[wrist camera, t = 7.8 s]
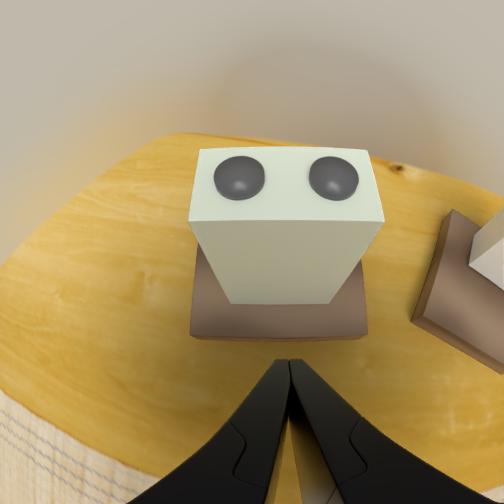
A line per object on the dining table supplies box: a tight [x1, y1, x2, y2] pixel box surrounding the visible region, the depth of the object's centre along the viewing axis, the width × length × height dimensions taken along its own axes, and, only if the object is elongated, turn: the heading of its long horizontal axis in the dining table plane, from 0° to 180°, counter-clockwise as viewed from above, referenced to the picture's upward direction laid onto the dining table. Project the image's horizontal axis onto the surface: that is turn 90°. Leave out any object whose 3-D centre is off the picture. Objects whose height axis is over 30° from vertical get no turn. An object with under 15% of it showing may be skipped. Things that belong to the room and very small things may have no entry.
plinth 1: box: [190, 242, 368, 341], centre depth 20 cm, size 10×11×2 cm
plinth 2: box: [411, 209, 504, 374], centre depth 18 cm, size 10×11×2 cm
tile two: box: [188, 147, 385, 305], centre depth 13 cm, size 3×6×10 cm, turn 88°
